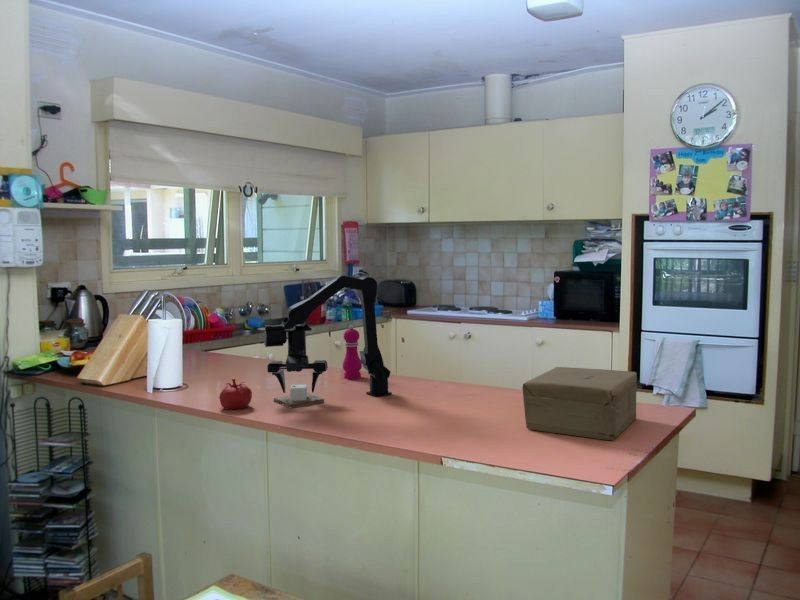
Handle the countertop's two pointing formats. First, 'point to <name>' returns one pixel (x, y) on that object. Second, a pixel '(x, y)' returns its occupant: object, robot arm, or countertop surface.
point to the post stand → (310, 400)
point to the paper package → (581, 402)
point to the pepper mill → (351, 354)
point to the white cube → (298, 392)
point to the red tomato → (235, 396)
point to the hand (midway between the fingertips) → (298, 392)
